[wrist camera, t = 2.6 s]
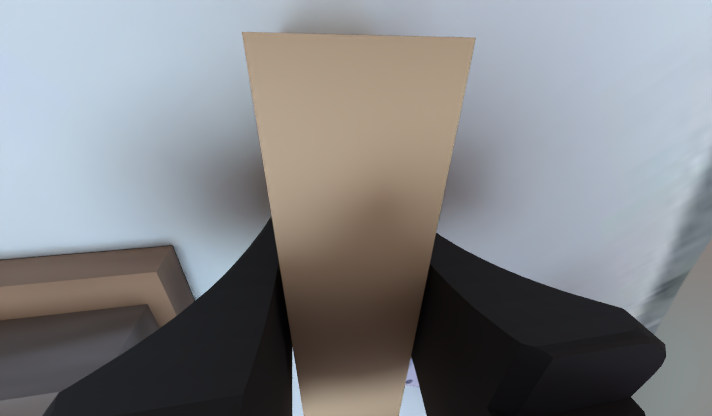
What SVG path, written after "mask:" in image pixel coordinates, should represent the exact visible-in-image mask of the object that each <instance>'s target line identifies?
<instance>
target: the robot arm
mask: <svg viewBox="0 0 712 416" xmlns="http://www.w3.org/2000/svg"><path fill="white" fill-rule="evenodd" d="M292 348H293V345H292V339H291V333H290V327H289V320H288V314H287V308H286V302H285V296H284V289H283V283H282V277H281V271H280V265H279V259H278V252H277V246H276V240H275V234H274V228H273V221H272V216H271V218H270V219H269V221H268V222H267V224H266V225H265V227H264V228H263V229H262V231H261V232H260V234H259V235H258V236H257V238H256V239H255V240H254V241H253V243H252V244H251V245H250V247H249V248H248V249H247V250H246V251H245V253H244V254H243V255H242V256H241V257H240V258H239V259H238V261H237V262H236V263H235V264H234V265H233V266H232V267H231V268H230V269H229V270H228V271H227V272H226V274H225V275H224V276H223V277H222V278H221V279H219V280H218V281H217V282H216V283H215V284H214V285H213V286H212V287H211V288H210V289H209V290H208V291H207V292H205V293H204V294H203V295H202V296H200V297H199V298H198V299H197V300H196V301H194V302H193V303H192V304H191V305H189V306H188V307H187V308H186V309H184V310H183V311H182V312H181V313H180V314H178V315H177V316H176V317H174V318H173V319H172V320H170V321H169V322H168V323H166V324H165V325H163V326H162V327H161V328H159V329H158V330H157V331H155V332H154V333H152V334H151V335H149V336H148V337H146V338H145V339H144V340H142V341H141V342H139V343H138V344H136V345H135V346H133V347H132V348H130V349H129V350H127V351H126V352H124V353H123V354H121V355H119V356H118V357H116V358H115V359H113V360H111V361H110V362H108V363H107V364H105V365H103V366H102V367H100V368H99V369H97V370H95V371H94V372H92V373H90V374H89V375H87V376H86V377H84V378H82V379H81V380H79V381H78V382H76V383H74V384H73V385H71V386H69V387H68V388H66V389H64V390H62V391H61V392H59V393H58V395H57V396H56V397H55V399H54V400H53V401H52V403H51V404H50V405H49V407H48V408H47V410H46V411H45V412H44V414H43V415H42V416H292ZM411 357H412V359H411V360H410V363H409V368H408V373H407V378H406V383H405V385H407V386H413V387H420V390H421V394H422V398H423V402H424V406H425V410H426V414H427V416H645V413H644V411H643V410H642V409H641V408H640V407H639V405H638V404H637V403H636V402H635V401H634V400H633V399H632V398H631V396H632V395H633V394H634V393H635V392H636V391H637V390H638V389H639V388H640V387H641V386H642V385H643V384H644V383H645V382H646V381H647V380H648V379H649V378H650V377H651V376H652V375H654V374H655V372H656V371H657V370H658V369H659V368H660V367H661V365H662V364H663V362H664V360H665V358H666V350H665V344H664V343H663V342H662V341H661V340H659V339H658V338H657V337H656V336H655V335H654V334H652V333H651V332H650V331H649V330H648V329H647V328H645V327H644V326H643V325H642V324H641V323H640V322H638V321H637V320H636V319H635V318H634V317H633V316H631V315H630V314H629V313H628V312H627V311H625V310H624V309H622V308H619V307H615V306H612V305H609V304H605V303H602V302H598V301H595V300H591V299H588V298H584V297H581V296H577V295H574V294H570V293H567V292H564V291H561V290H558V289H555V288H552V287H549V286H547V285H544V284H541V283H538V282H535V281H533V280H530V279H527V278H525V277H522V276H519V275H517V274H515V273H512V272H510V271H508V270H505V269H503V268H500V267H498V266H496V265H494V264H491V263H489V262H487V261H485V260H483V259H481V258H479V257H477V256H475V255H473V254H471V253H469V252H467V251H465V250H464V249H462V248H460V247H458V246H457V245H455V244H453V243H452V242H450V241H448V240H447V239H445V238H443V237H442V236H440V235H439V234H437V233H436V236H435V240H434V245H433V250H432V255H431V260H430V265H429V270H428V275H427V280H426V285H425V289H424V294H423V299H422V304H421V309H420V314H419V319H418V324H417V329H416V334H415V339H414V343H413V348H412V353H411Z"/></svg>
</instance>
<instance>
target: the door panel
mask: <svg viewBox="0 0 712 416" xmlns="http://www.w3.org/2000/svg"><path fill="white" fill-rule="evenodd" d="M242 36H243V42H244V48H245V54H246V60H247V67H248V73H249V79H250V85H251V91H252V98H253V104H254V110H255V116H256V122H257V129H258V135H259V141H260V147H261V153H262V160H263V166H264V172H265V178H266V184H267V190H268V197H269V203H270V209H271V215H272V221H273V228H274V234H275V240H276V246H277V252H278V259H279V265H280V271H281V277H282V283H283V289H284V296H285V302H286V308H287V314H288V320H289V327H290V333H291V339H292V345H293V351H294V358H295V364H296V370H297V376H298V382H299V389H300V395H301V401H302V407H303V413H304V416H399V412H400V407H401V402H402V397H403V393H404V388H405V383H406V378H407V373H408V368H409V363H410V358H411V353H412V348H413V343H414V339H415V334H416V329H417V324H418V319H419V314H420V309H421V304H422V299H423V294H424V289H425V285H426V280H427V275H428V270H429V265H430V260H431V255H432V250H433V245H434V240H435V236H436V231H437V226H438V221H439V216H440V211H441V206H442V201H443V196H444V191H445V186H446V182H447V177H448V172H449V167H450V162H451V157H452V152H453V147H454V142H455V137H456V132H457V128H458V123H459V118H460V113H461V108H462V103H463V98H464V93H465V88H466V83H467V78H468V74H469V69H470V64H471V59H472V54H473V49H474V44H475V39H476V38H463V37H423V36H382V35H342V34H302V33H261V32H242Z"/></svg>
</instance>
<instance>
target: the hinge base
mask: <svg viewBox="0 0 712 416" xmlns="http://www.w3.org/2000/svg"><path fill="white" fill-rule="evenodd" d="M193 302H194V298H193V296H192V293H191V291H190V288H189V286H188V283H187V281H186V278H185V276H184V273H183V271H182V268H181V266H180V263H179V261H178V258H177V256H176V254H175V251H174V249H173V246H165V247H153V248H141V249H129V250H117V251H105V252H93V253H81V254H69V255H57V256H45V257H33V258H21V259H9V260H0V416H42V415H43V414H44V412H45V411H46V410H47V408H48V407H49V405H50V404H51V403H52V401H53V400H54V399H55V397H56V396H57V395H58V393H59V392H61V391H62V390H64V389H66V388H68V387H69V386H71V385H73V384H74V383H76V382H78V381H79V380H81V379H82V378H84V377H86V376H87V375H89V374H90V373H92V372H94V371H95V370H97V369H99V368H100V367H102V366H103V365H105V364H107V363H108V362H110V361H111V360H113V359H115V358H116V357H118V356H119V355H121V354H123V353H124V352H126V351H127V350H129V349H130V348H132V347H133V346H135V345H136V344H138V343H139V342H141V341H142V340H144V339H145V338H146V337H148V336H149V335H151V334H152V333H154V332H155V331H157V330H158V329H159V328H161V327H162V326H163V325H165V324H166V323H168V322H169V321H170V320H172V319H173V318H174V317H176V316H177V315H178V314H180V313H181V312H182V311H183V310H184V309H186V308H187V307H188V306H189V305H191V304H192V303H193Z"/></svg>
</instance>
